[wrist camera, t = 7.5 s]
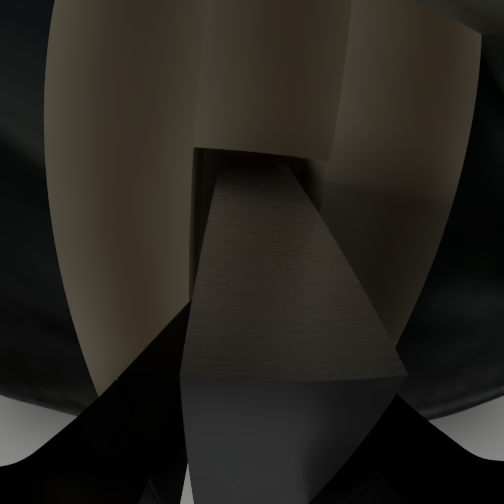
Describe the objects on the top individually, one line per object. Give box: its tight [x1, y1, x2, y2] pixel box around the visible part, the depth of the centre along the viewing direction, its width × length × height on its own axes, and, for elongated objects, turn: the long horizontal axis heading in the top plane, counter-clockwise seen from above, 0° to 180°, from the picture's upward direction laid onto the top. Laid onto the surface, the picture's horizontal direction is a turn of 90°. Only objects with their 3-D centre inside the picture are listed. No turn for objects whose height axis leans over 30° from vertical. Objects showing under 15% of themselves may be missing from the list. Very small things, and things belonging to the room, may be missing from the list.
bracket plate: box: [180, 158, 408, 504], centre depth 7 cm, size 2×6×8 cm, turn 173°
